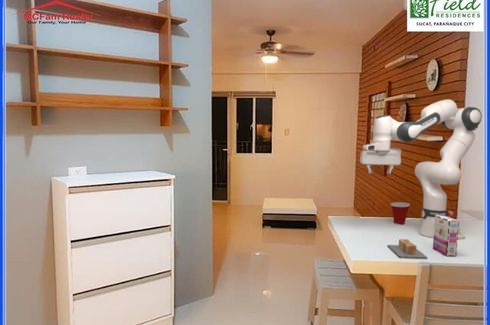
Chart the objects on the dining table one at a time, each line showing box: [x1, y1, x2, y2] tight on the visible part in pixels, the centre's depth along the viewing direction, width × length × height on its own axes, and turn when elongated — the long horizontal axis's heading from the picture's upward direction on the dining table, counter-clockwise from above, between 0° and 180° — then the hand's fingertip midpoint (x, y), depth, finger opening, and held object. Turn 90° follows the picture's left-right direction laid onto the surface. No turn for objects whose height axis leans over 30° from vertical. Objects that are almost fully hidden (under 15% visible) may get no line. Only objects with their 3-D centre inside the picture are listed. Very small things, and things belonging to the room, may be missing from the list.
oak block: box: [398, 238, 417, 255], centre depth 173 cm, size 4×4×10 cm
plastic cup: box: [390, 201, 411, 225], centre depth 227 cm, size 11×11×12 cm
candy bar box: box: [432, 215, 460, 257], centre depth 175 cm, size 11×5×16 cm, turn 5°
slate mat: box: [386, 244, 428, 260], centre depth 174 cm, size 12×16×1 cm
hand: (379, 173), depth 197 cm, fingers open, 8 cm apart
